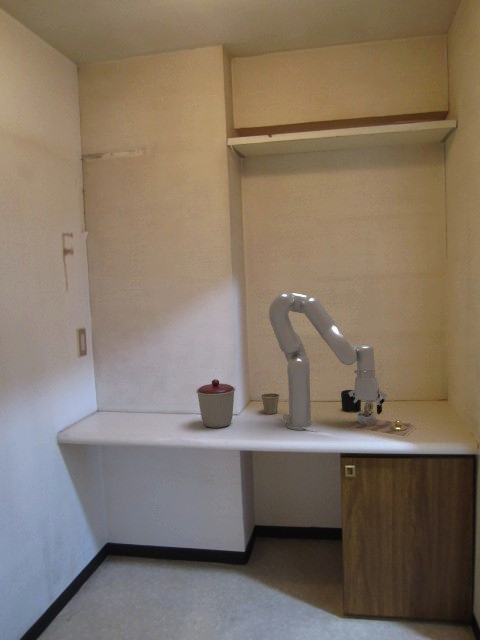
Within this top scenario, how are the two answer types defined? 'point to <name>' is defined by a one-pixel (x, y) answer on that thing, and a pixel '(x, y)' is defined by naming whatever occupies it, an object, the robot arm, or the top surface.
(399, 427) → the brass hub
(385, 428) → the walnut board
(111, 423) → the top surface
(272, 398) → the flower pot
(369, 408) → the pocket watch
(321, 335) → the robot arm
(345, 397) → the pen holder
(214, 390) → the canister
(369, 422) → the steel ring
